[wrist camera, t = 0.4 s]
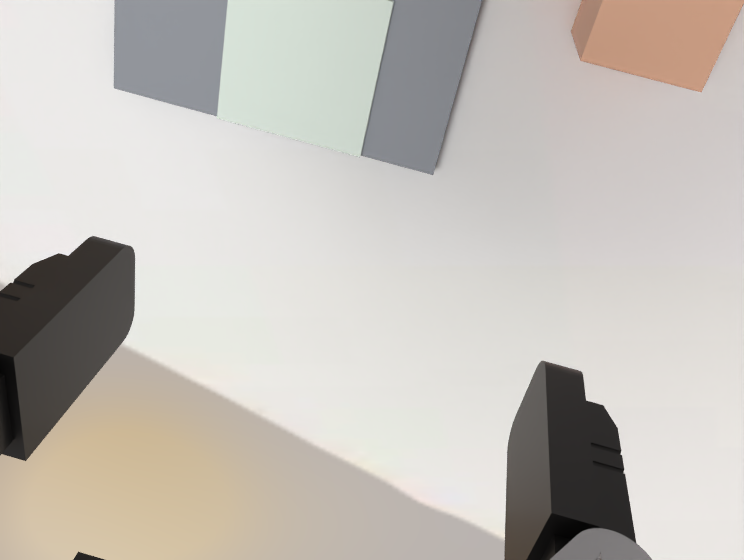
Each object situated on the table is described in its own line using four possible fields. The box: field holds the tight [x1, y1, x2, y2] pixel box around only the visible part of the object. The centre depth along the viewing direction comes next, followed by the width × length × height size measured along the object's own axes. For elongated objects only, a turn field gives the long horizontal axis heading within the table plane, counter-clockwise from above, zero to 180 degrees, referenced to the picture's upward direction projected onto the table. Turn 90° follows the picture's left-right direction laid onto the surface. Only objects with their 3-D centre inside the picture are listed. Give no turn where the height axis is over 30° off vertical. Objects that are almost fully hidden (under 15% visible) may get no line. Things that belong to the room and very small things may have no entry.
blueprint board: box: [114, 0, 482, 175], centre depth 35 cm, size 12×18×1 cm, turn 78°
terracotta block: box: [571, 0, 744, 92], centre depth 29 cm, size 5×5×6 cm
